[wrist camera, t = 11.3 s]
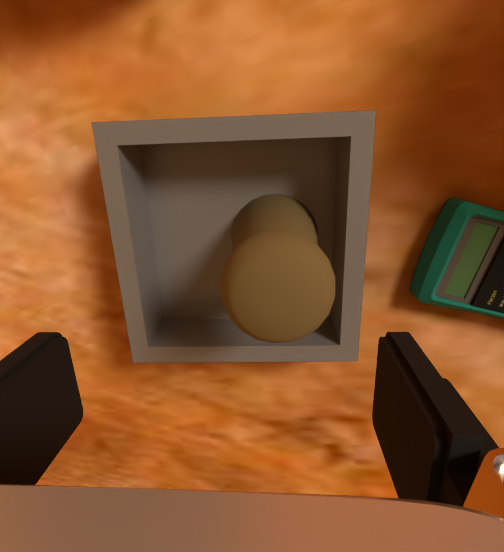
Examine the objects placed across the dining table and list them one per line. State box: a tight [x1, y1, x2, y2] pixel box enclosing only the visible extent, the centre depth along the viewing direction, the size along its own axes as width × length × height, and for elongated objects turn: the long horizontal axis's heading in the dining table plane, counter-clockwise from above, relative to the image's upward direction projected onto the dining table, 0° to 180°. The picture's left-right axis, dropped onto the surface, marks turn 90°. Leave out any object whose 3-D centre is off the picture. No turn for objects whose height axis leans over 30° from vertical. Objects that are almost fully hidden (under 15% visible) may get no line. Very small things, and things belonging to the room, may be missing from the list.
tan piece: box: [220, 194, 335, 343], centre depth 20 cm, size 6×6×11 cm
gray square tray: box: [92, 110, 376, 363], centre depth 24 cm, size 15×15×5 cm
